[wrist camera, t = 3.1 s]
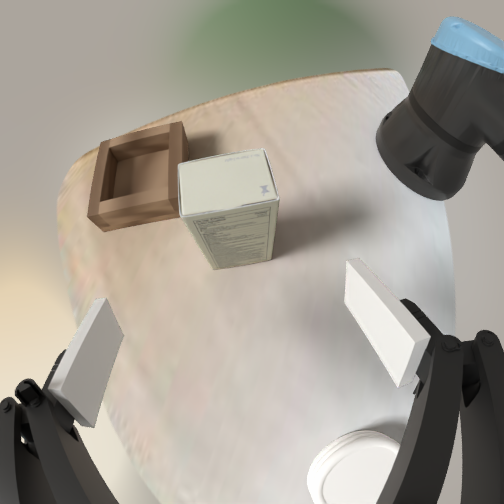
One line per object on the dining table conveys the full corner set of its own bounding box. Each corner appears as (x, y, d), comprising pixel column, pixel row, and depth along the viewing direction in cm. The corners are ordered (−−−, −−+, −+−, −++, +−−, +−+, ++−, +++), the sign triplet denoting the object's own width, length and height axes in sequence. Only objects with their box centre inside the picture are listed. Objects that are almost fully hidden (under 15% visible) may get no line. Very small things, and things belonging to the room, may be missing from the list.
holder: (188, 142, 33) (181, 121, 29) (191, 215, 29) (182, 196, 26) (112, 160, 33) (100, 142, 29) (103, 231, 29) (87, 216, 25)
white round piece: (355, 412, 22) (369, 419, 19) (409, 453, 20) (424, 461, 17) (285, 479, 20) (289, 494, 17) (347, 514, 18) (356, 528, 14)
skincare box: (263, 222, 29) (268, 145, 18) (272, 262, 27) (284, 200, 16) (204, 232, 29) (176, 160, 17) (210, 273, 27) (178, 217, 16)
